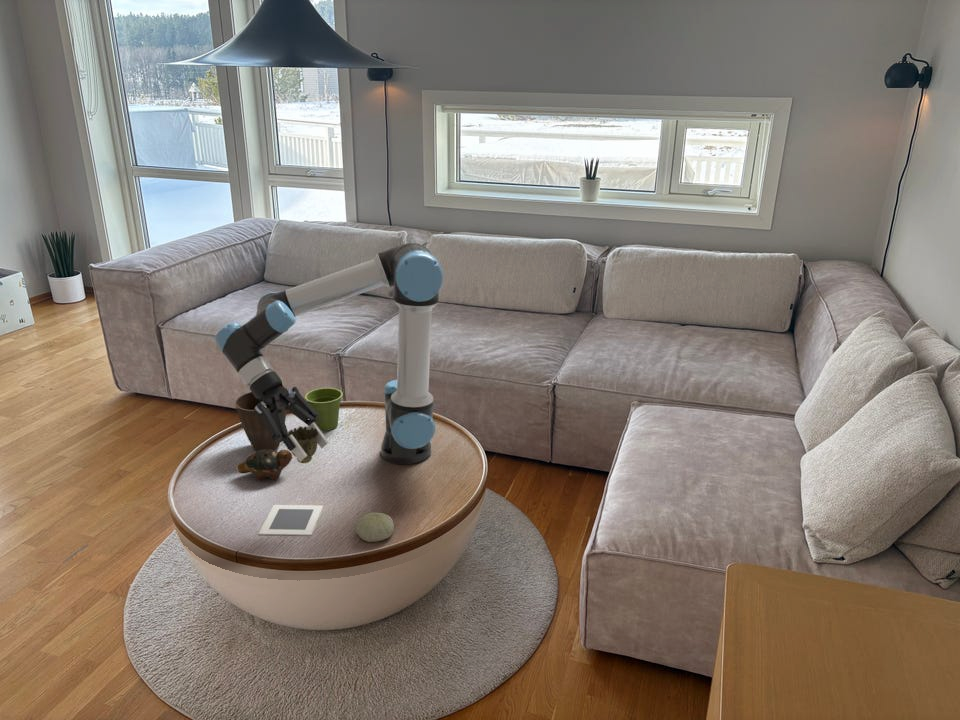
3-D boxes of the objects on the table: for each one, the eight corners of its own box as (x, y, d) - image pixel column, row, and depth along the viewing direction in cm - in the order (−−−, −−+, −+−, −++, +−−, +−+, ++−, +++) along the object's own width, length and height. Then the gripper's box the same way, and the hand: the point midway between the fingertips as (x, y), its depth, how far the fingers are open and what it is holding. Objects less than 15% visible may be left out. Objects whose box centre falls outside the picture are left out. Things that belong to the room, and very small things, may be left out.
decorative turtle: (294, 481, 199) (290, 456, 196) (238, 490, 197) (233, 465, 193) (295, 463, 208) (291, 439, 205) (241, 471, 205) (236, 447, 202)
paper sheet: (323, 506, 187) (323, 505, 187) (311, 535, 175) (311, 534, 175) (273, 505, 187) (273, 504, 187) (258, 534, 175) (258, 533, 175)
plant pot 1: (291, 456, 213) (287, 407, 207) (239, 461, 209) (233, 412, 204) (291, 434, 226) (287, 387, 221) (242, 439, 223) (236, 392, 217)
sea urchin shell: (397, 536, 172) (372, 517, 169) (374, 557, 173) (350, 538, 171) (398, 515, 180) (374, 497, 178) (376, 535, 182) (353, 517, 179)
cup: (324, 456, 183) (323, 428, 180) (311, 470, 176) (309, 441, 174) (298, 452, 185) (296, 424, 182) (284, 465, 178) (282, 436, 175)
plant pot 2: (308, 420, 236) (305, 388, 232) (344, 417, 238) (342, 386, 234) (306, 436, 225) (303, 403, 221) (344, 433, 227) (342, 401, 223)
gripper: (282, 373, 190) (332, 442, 188) (223, 399, 173) (278, 476, 171) (296, 358, 185) (348, 429, 184) (237, 384, 168) (294, 462, 167)
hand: (314, 451), depth 178 cm, fingers closed on cup, 7 cm apart
